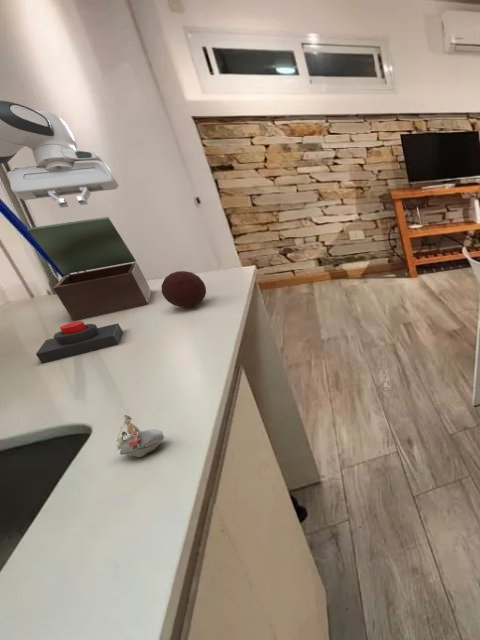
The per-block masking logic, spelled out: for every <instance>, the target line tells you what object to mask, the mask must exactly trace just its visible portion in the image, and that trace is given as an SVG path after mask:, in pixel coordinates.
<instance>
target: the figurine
mask: <svg viewBox="0 0 480 640" xmlns="http://www.w3.org/2000/svg"><path fill="white" fill-rule="evenodd" d="M123 418H124V421H123V425H122V426H121V427H120V430H119V433H118V435H117V439H116V440H115V441H116V442H117V444H116V445H115V446H116V451H119V455H123V456H124V455H126V456H132V457H138V458H142V457H144V456H146V455H148V453H151V452H153V451H155V450H156V449H157V448H158V447H159V446H160V445H161V442H162V441H163V440H164V439H165V435H164V433H163V431H162V430H160V429H147V430H142V431H141V430H140V429H139V428H138V427H137V426H136V425H135V424H133V423H132V421H133V420H134V419H133V418H132V417H131V416H129V415H127V414H126V415H123ZM125 425H126V426H125ZM123 428H126V429H127V430H126V431H122V429H123ZM128 434H129V435H128Z"/></svg>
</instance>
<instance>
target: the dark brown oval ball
mask: <svg viewBox="0 0 480 640" xmlns="http://www.w3.org/2000/svg"><path fill="white" fill-rule="evenodd" d="M161 293H162V296H163V298H164V300H166V301H167V302H168V303H169V304H171V305H172V306H175V307H180V308H192V307H195V306H197V305H199V304H201V303H202V302H203V300H204V298H206V295H207V287H206V284H205V282H204V281H203V280H202V278H201V277H200V276H199V275H197V274H195V273H194V272H192V271H186V270H180V271H177V270H176V271H175V272H174V271H173V272H171V273H170V274H168V275H166V277H164V279H163V281H162V283H161Z"/></svg>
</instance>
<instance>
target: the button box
mask: <svg viewBox="0 0 480 640" xmlns="http://www.w3.org/2000/svg"><path fill="white" fill-rule="evenodd" d="M84 324H85V326H86V328H87V329H85V330H82V331H79V332H76V333H72V334H66V335H64V334H63V332H62V330H60V331H58V332H56V333H54V335H53V338H49V339H46V340H45V341H44V342H43V343H42V345H41V346H40V347H39V349H38V351H37V352H36V353H35V355H36V357H37V359H38V360H39V361H40V363H41V364H44V363H49V362H53V361H57V360H60V359H65V358H69V357H73V356H76V355H80V354H85V353H89V352H93V351H97V350H100V349H105V348H108V347H113V346H116V345H119V343H120V341H121V338H122V335H123V333H124V330H123V329H122V327H121V326H120V324H119V323H118V322H117V323H113V324H108V325H105V326H100V327H98V326H97V324H94V323H84Z"/></svg>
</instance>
